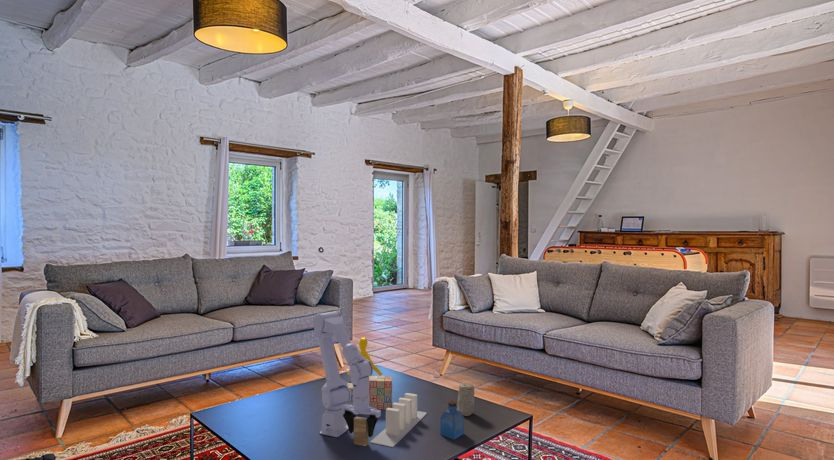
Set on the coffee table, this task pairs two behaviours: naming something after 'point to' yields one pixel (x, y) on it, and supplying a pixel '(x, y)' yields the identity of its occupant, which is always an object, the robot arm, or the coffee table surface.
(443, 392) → the coffee table surface
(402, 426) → the domino
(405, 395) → the domino
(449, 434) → the perfume bottle
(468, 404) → the carving
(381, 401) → the stack of blocks
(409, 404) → the domino
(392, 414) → the domino
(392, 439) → the felt strip
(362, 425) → the ochre tile
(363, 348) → the figure statuette
